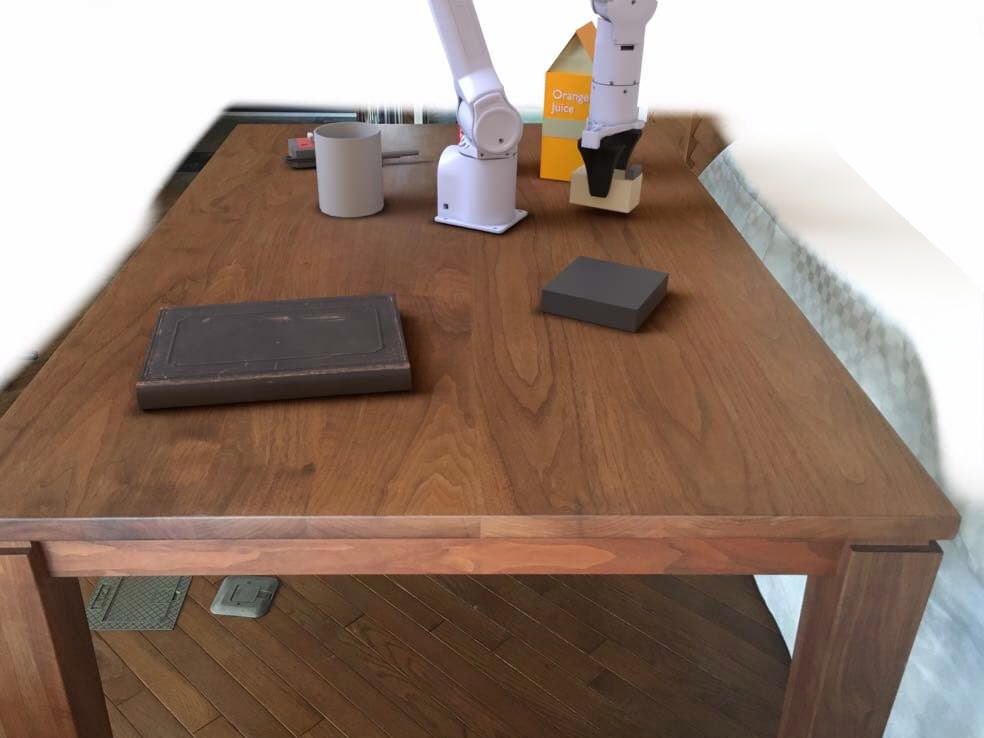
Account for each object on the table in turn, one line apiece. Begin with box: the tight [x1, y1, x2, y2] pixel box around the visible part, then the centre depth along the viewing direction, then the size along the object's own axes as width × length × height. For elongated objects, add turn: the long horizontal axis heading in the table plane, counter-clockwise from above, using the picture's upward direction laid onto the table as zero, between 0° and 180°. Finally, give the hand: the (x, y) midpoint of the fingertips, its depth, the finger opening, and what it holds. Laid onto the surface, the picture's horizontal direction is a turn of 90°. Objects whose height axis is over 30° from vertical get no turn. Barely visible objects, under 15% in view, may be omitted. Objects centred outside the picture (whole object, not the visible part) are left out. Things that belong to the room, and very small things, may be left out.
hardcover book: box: [135, 292, 412, 410], centre depth 83 cm, size 16×23×2 cm
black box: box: [540, 255, 670, 333], centre depth 93 cm, size 10×10×2 cm
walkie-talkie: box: [283, 132, 420, 169], centre depth 136 cm, size 9×4×20 cm
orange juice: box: [539, 20, 597, 182], centre depth 126 cm, size 8×9×20 cm
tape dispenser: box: [569, 163, 643, 214], centre depth 115 cm, size 8×4×7 cm, turn 61°
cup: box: [313, 121, 385, 218], centre depth 117 cm, size 8×8×10 cm
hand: (605, 191), depth 116 cm, fingers closed on tape dispenser, 4 cm apart
